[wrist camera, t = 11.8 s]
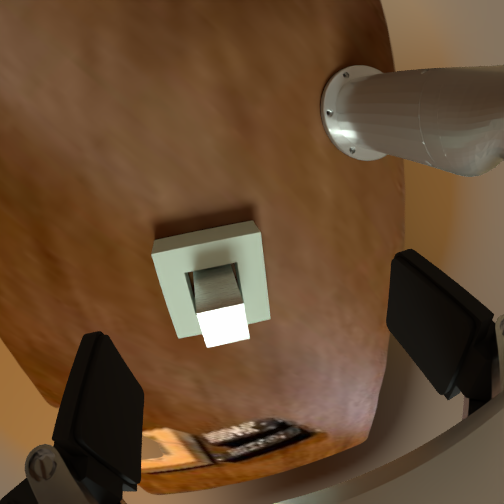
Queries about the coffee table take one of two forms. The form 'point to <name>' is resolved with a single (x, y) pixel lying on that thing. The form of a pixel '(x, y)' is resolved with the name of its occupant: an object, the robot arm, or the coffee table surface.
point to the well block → (206, 256)
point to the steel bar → (219, 306)
